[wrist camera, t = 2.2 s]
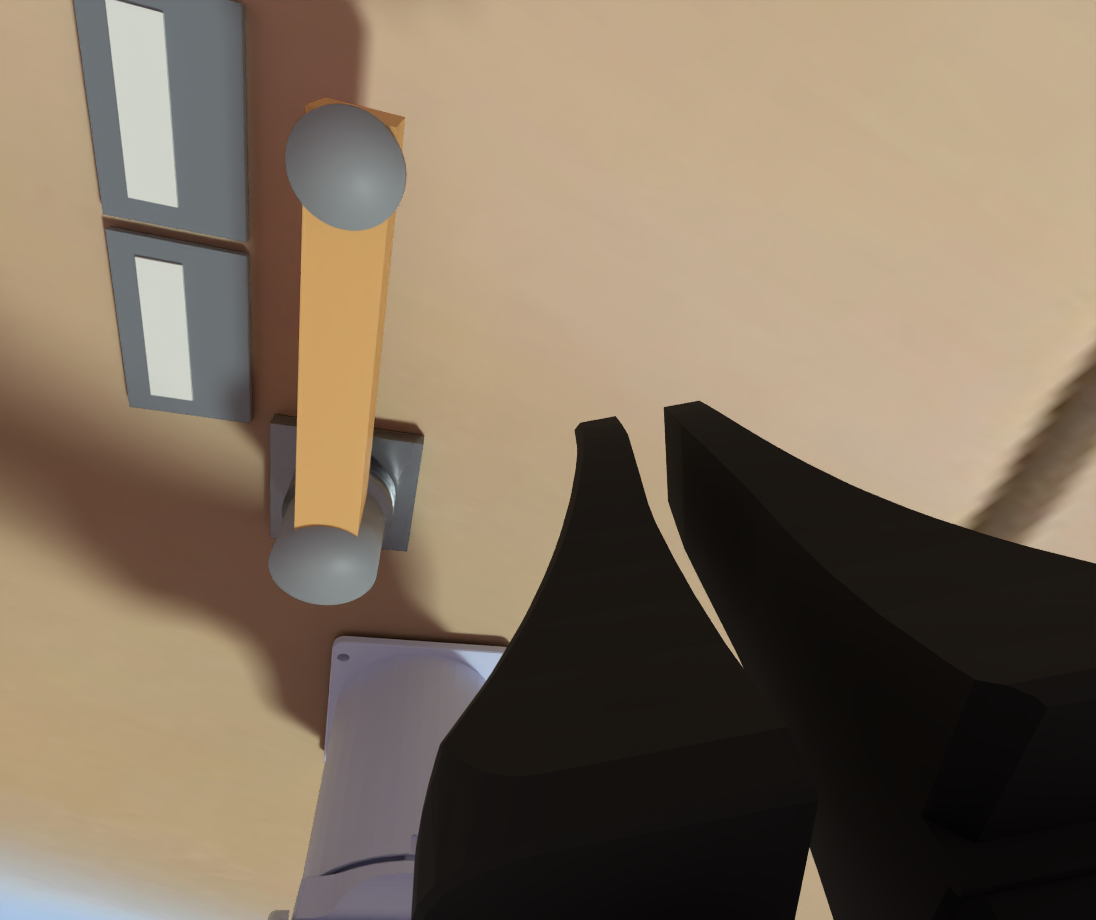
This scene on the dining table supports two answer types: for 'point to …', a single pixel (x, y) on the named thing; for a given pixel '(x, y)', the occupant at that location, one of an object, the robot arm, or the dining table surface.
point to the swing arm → (339, 345)
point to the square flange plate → (386, 484)
